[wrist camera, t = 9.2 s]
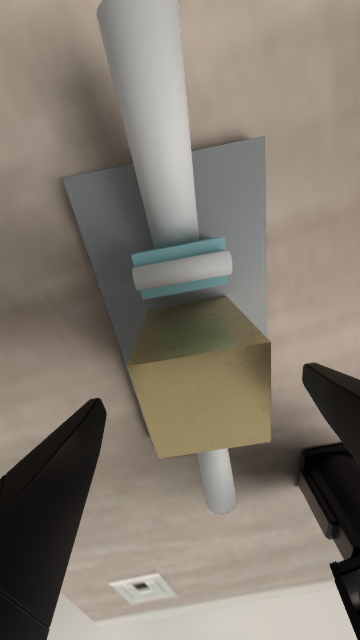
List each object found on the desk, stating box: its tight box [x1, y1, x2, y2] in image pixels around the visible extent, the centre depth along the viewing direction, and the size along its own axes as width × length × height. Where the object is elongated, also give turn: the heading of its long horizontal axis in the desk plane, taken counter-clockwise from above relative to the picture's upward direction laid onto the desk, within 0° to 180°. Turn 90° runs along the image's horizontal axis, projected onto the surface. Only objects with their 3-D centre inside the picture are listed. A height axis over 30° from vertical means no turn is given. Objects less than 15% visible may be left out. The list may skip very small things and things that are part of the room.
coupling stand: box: [62, 0, 267, 514], centre depth 12 cm, size 10×26×5 cm, turn 10°
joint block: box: [127, 296, 271, 459], centre depth 10 cm, size 5×5×6 cm
